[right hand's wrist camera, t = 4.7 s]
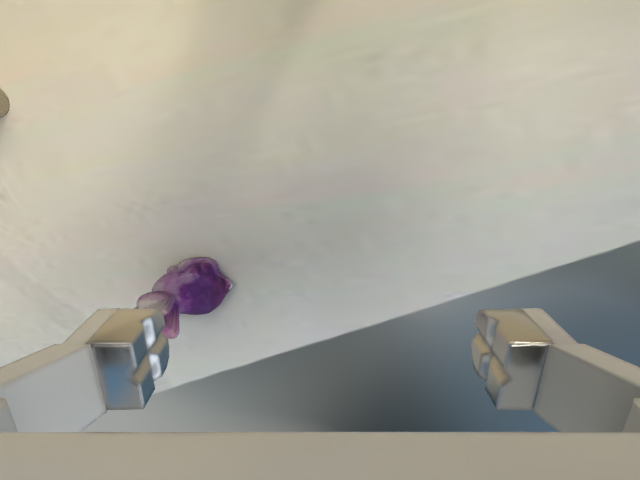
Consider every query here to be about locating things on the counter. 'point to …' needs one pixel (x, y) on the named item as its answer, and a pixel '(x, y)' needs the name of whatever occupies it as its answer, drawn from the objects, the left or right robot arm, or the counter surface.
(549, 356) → the right robot arm
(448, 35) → the counter surface
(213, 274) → the figurine
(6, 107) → the jar
